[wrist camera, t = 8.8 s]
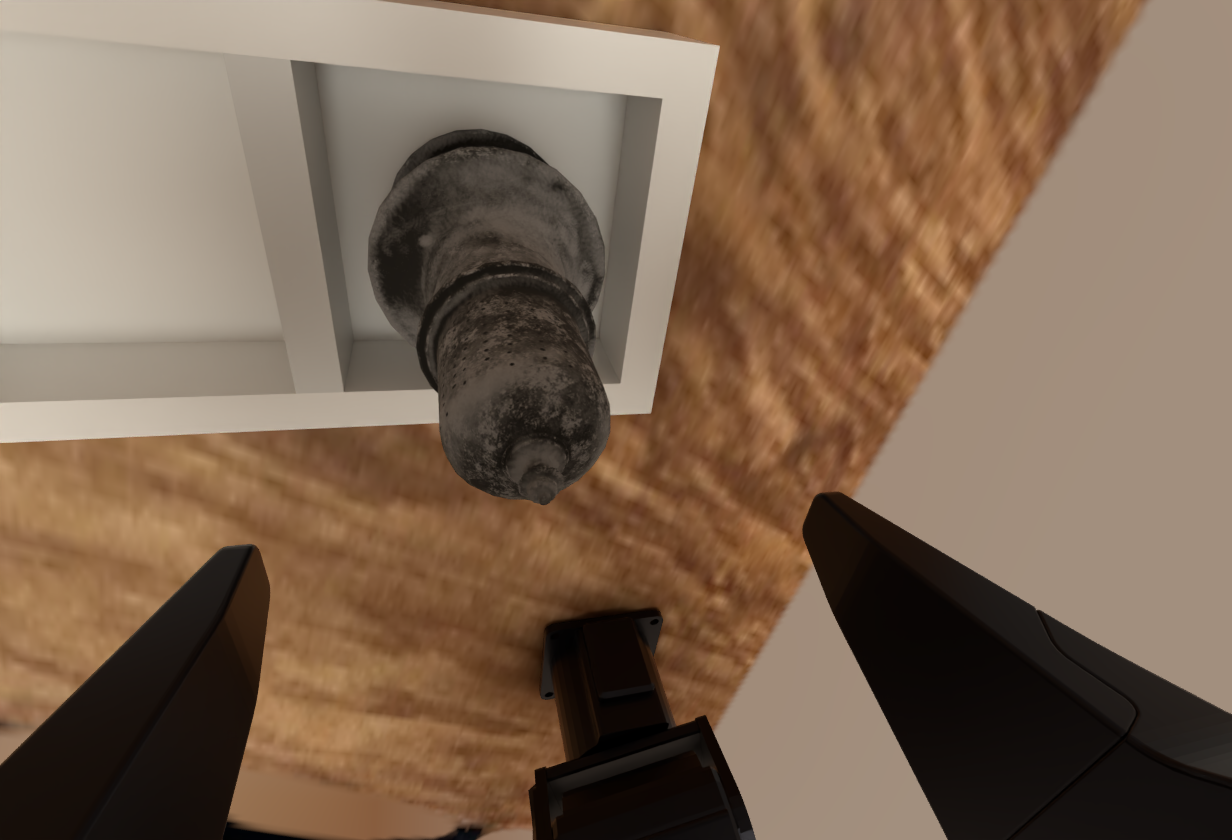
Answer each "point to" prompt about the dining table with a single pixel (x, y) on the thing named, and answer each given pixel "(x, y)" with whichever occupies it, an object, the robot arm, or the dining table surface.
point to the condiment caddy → (298, 198)
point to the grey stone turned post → (497, 308)
